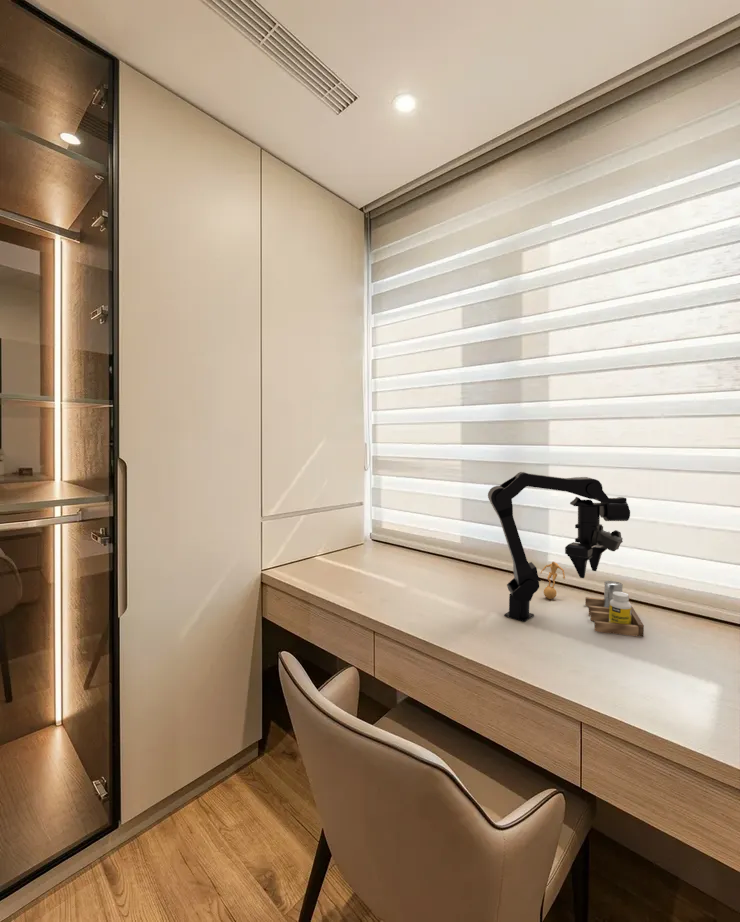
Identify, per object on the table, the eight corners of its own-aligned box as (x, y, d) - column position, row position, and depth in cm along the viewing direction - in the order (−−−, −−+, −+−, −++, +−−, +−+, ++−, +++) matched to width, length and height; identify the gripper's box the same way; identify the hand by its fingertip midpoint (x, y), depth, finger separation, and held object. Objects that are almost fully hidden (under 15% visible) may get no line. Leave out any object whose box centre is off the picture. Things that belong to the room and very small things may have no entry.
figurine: (535, 596, 154) (535, 561, 154) (543, 592, 159) (544, 557, 158) (559, 603, 148) (560, 566, 148) (567, 599, 152) (568, 562, 152)
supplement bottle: (608, 629, 128) (609, 594, 128) (609, 622, 133) (610, 589, 133) (630, 633, 126) (631, 598, 125) (630, 626, 130) (631, 592, 130)
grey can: (618, 617, 137) (619, 587, 137) (601, 612, 141) (602, 583, 140) (623, 612, 141) (624, 583, 140) (607, 608, 144) (607, 579, 144)
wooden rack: (595, 631, 127) (595, 619, 127) (585, 604, 147) (585, 594, 147) (643, 637, 124) (643, 625, 124) (626, 609, 144) (627, 598, 143)
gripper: (606, 529, 122) (606, 588, 123) (629, 519, 135) (629, 572, 136) (564, 524, 130) (564, 579, 131) (589, 515, 143) (589, 565, 144)
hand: (588, 574), depth 135 cm, fingers open, 9 cm apart
